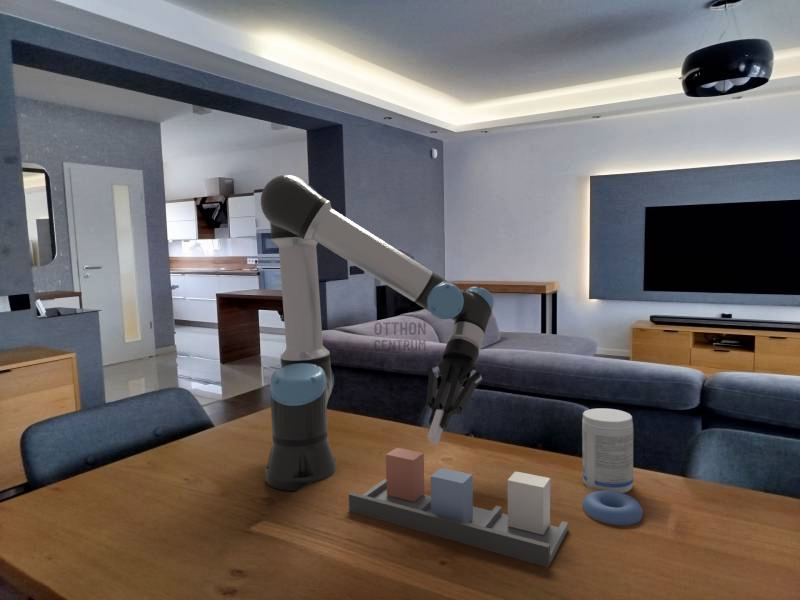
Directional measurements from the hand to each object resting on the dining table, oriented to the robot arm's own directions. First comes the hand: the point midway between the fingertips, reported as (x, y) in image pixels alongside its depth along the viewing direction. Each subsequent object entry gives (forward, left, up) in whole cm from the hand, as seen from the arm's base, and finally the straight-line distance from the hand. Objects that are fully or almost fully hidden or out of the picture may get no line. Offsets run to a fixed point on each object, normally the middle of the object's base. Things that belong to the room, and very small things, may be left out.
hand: (432, 440), depth 110 cm
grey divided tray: (+11, -14, -9) cm, 20 cm away
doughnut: (+34, +2, -10) cm, 36 cm away
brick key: (-1, -10, -8) cm, 12 cm away
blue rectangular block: (+11, -14, -8) cm, 20 cm away
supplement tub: (+31, +16, -9) cm, 36 cm away
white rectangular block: (+23, -10, -8) cm, 26 cm away
